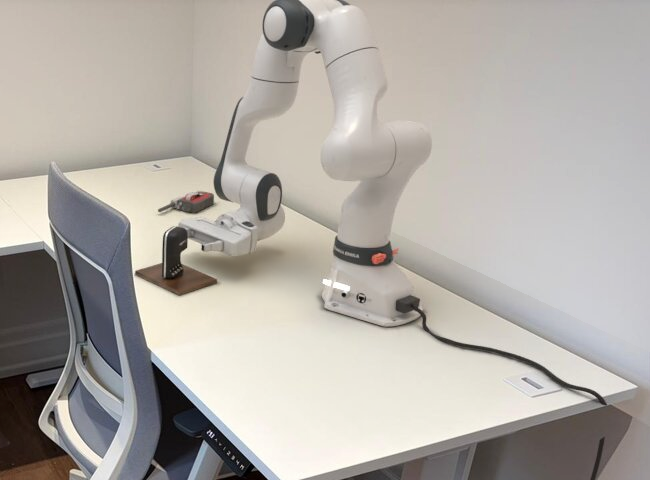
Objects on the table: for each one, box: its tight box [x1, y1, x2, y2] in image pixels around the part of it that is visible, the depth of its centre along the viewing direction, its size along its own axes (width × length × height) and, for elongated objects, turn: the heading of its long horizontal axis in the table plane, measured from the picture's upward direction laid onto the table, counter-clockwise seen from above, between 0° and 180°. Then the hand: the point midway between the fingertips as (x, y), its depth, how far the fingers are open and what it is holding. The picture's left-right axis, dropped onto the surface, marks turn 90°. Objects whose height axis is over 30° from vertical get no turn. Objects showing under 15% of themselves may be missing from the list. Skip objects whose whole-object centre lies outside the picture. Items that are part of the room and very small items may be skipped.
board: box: [134, 262, 218, 296], centre depth 203 cm, size 16×12×1 cm
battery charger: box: [161, 225, 189, 279], centre depth 200 cm, size 7×4×11 cm, turn 150°
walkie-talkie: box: [157, 190, 215, 214], centre depth 248 cm, size 9×4×20 cm
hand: (189, 242), depth 202 cm, fingers open, 8 cm apart
